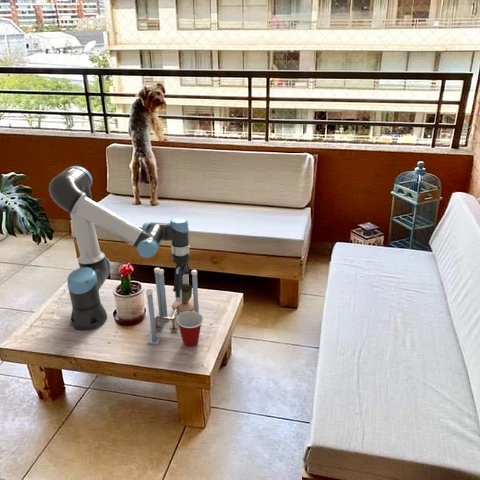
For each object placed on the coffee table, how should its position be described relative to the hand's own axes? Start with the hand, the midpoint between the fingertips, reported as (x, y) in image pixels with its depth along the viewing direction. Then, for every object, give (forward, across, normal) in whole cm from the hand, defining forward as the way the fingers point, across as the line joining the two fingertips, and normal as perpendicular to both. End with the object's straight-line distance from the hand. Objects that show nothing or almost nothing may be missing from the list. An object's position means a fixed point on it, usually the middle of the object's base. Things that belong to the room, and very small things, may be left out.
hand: (182, 294), depth 203 cm
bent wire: (+6, -15, +3) cm, 16 cm away
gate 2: (+6, -10, -1) cm, 12 cm away
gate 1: (+6, -19, +5) cm, 21 cm away
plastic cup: (+6, -26, -10) cm, 29 cm away
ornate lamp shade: (+6, +2, -1) cm, 6 cm away
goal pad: (+6, 0, -1) cm, 6 cm away
